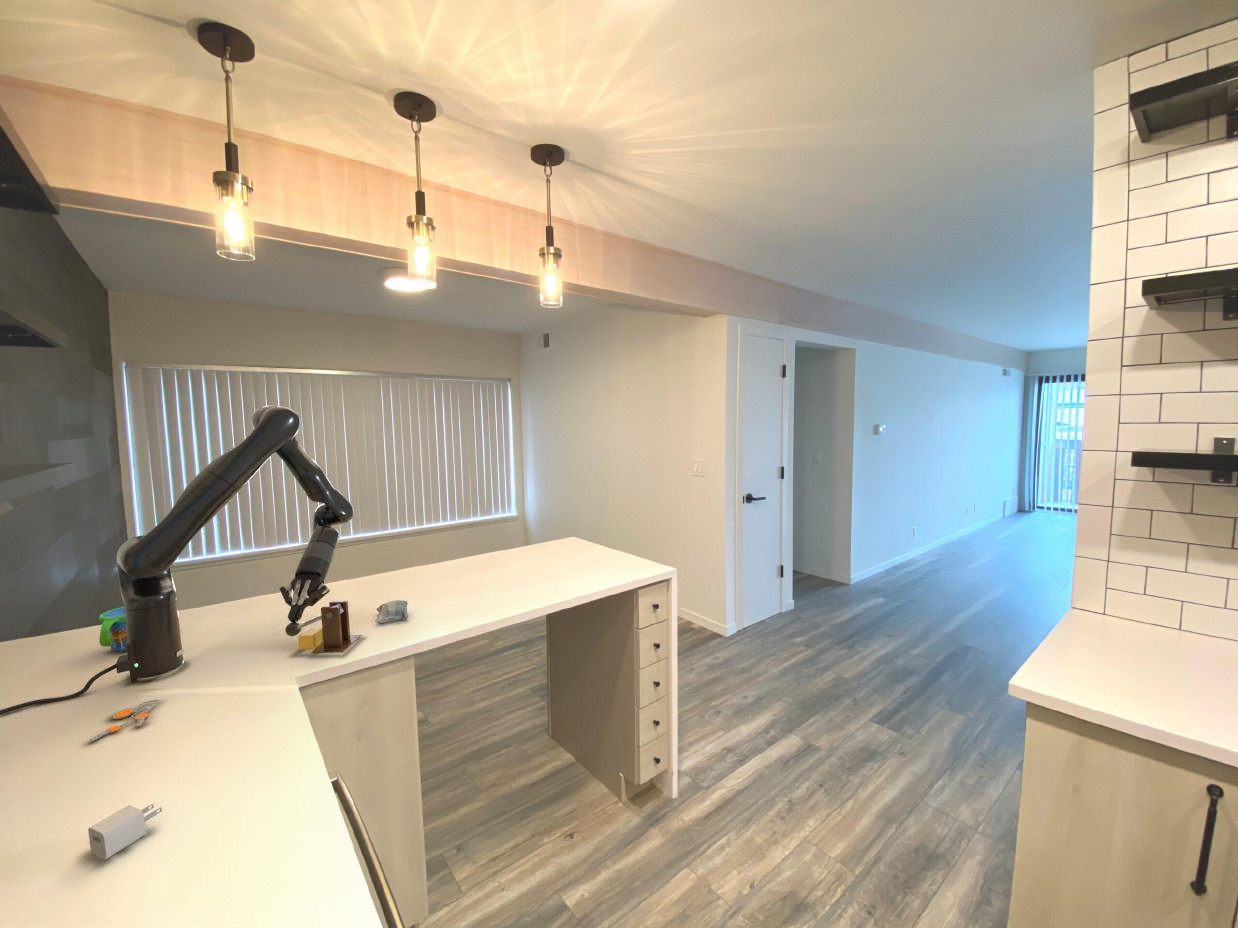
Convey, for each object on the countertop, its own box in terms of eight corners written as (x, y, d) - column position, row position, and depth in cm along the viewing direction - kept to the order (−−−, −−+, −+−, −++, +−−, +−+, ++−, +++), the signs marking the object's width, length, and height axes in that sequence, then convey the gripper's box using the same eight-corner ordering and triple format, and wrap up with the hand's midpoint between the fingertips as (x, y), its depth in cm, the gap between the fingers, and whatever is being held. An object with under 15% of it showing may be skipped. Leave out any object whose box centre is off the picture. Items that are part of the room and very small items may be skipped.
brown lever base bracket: (311, 656, 128) (307, 612, 127) (332, 639, 138) (329, 597, 137) (343, 655, 128) (339, 611, 127) (362, 638, 138) (359, 596, 137)
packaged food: (375, 629, 144) (374, 612, 143) (377, 614, 155) (376, 599, 154) (408, 624, 147) (407, 607, 147) (407, 610, 158) (407, 595, 158)
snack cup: (137, 634, 143) (133, 600, 142) (175, 633, 144) (172, 598, 143) (81, 661, 128) (76, 622, 127) (124, 659, 128) (119, 621, 127)
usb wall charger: (90, 852, 71) (87, 825, 70) (151, 815, 77) (148, 791, 77) (107, 860, 69) (103, 833, 69) (167, 822, 76) (164, 797, 75)
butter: (293, 655, 129) (292, 638, 128) (311, 641, 137) (310, 625, 136) (312, 655, 129) (311, 637, 128) (329, 641, 137) (328, 624, 136)
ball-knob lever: (286, 640, 131) (279, 628, 130) (294, 634, 134) (288, 622, 134) (339, 617, 130) (332, 605, 130) (346, 612, 134) (340, 600, 134)
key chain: (123, 707, 106) (123, 703, 106) (166, 699, 109) (166, 696, 109) (84, 743, 95) (84, 739, 94) (134, 734, 97) (133, 730, 97)
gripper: (285, 555, 140) (259, 615, 129) (333, 554, 140) (311, 614, 129) (298, 568, 146) (274, 627, 135) (344, 567, 146) (324, 625, 135)
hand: (293, 620), depth 132 cm, fingers closed
